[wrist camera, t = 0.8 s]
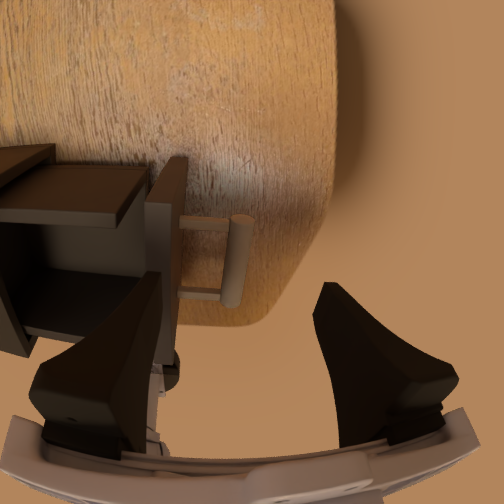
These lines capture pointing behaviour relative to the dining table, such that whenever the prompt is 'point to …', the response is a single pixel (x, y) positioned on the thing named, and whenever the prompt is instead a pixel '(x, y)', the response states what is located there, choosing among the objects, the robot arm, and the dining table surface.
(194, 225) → the open drawer with handle
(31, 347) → the dark grey drawer unit
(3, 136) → the dining table surface
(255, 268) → the dining table surface
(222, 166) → the dining table surface
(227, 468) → the robot arm
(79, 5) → the dining table surface
